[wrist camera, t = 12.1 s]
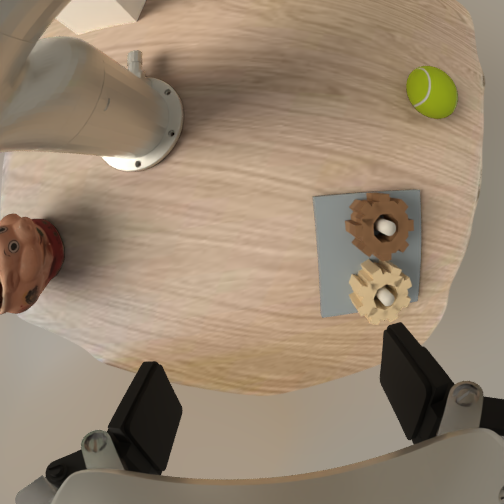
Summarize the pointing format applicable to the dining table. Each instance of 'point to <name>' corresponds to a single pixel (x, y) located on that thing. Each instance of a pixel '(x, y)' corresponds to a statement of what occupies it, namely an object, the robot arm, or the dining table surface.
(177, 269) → the dining table surface
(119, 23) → the milk
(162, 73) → the dining table surface
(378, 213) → the walnut gear
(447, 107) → the tennis ball
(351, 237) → the gear board
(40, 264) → the decorative planter
